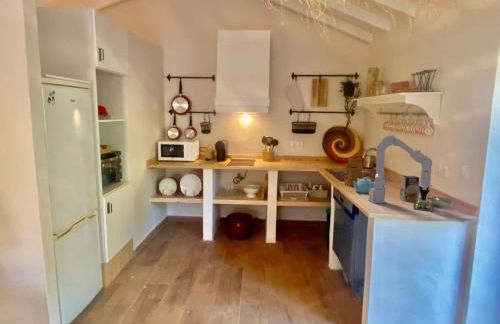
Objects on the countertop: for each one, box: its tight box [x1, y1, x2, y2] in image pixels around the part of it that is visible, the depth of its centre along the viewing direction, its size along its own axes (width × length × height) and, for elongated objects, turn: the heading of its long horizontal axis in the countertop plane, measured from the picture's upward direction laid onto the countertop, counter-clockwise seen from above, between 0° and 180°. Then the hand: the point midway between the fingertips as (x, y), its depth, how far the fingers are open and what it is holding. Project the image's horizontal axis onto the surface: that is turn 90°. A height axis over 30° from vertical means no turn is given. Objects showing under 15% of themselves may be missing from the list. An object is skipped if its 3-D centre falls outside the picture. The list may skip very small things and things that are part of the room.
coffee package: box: [344, 157, 363, 187], centre depth 264 cm, size 10×12×22 cm
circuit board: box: [415, 195, 430, 206], centre depth 203 cm, size 10×7×4 cm
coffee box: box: [399, 175, 420, 202], centre depth 221 cm, size 9×6×16 cm
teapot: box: [353, 177, 374, 195], centre depth 243 cm, size 15×15×11 cm
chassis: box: [412, 201, 433, 212], centre depth 203 cm, size 13×10×4 cm
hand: (423, 199), depth 203 cm, fingers open, 6 cm apart
